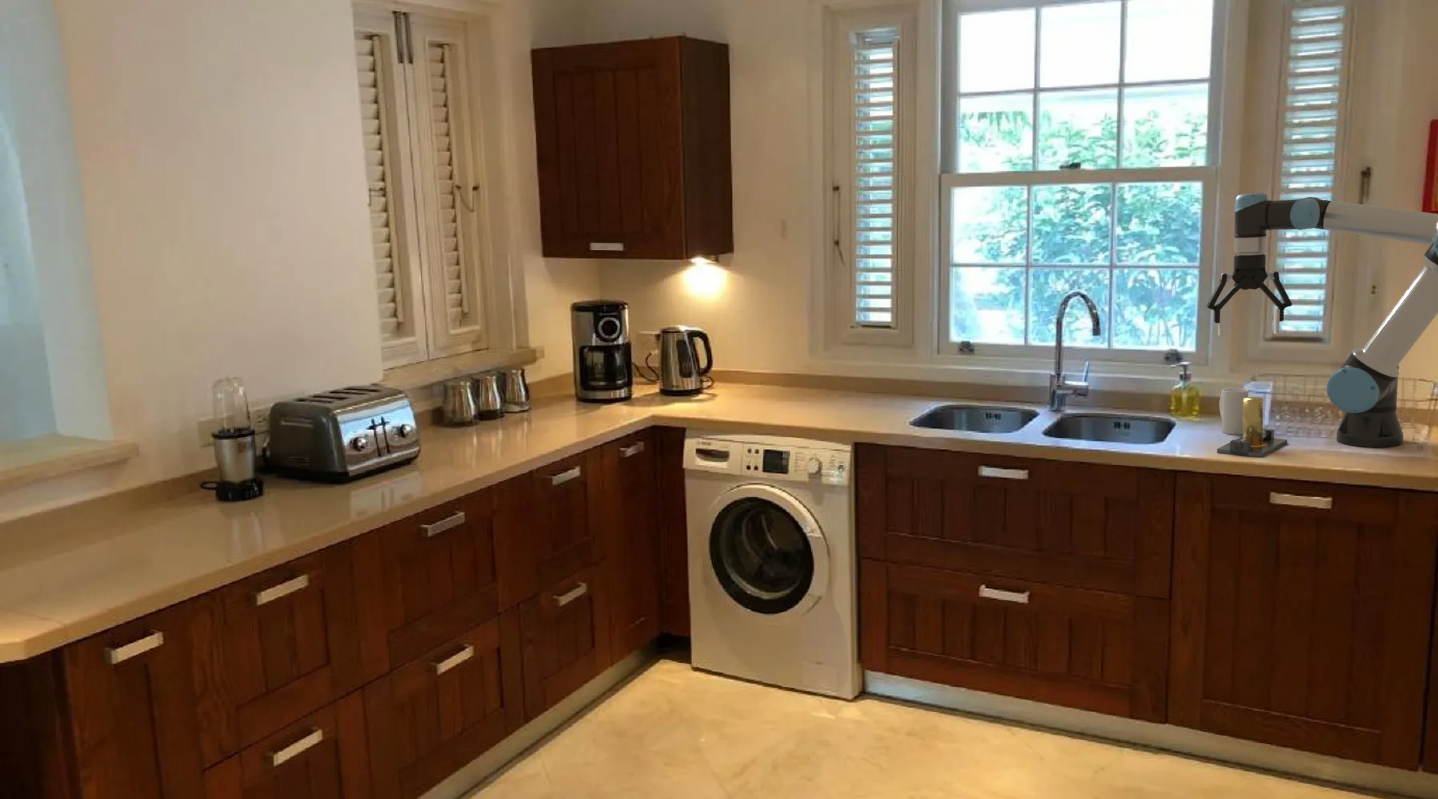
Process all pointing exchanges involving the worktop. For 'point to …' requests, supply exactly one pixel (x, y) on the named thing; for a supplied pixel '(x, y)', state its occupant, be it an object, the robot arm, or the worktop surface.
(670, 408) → the worktop surface
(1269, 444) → the shaft bench
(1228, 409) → the mug
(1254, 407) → the sleeve
